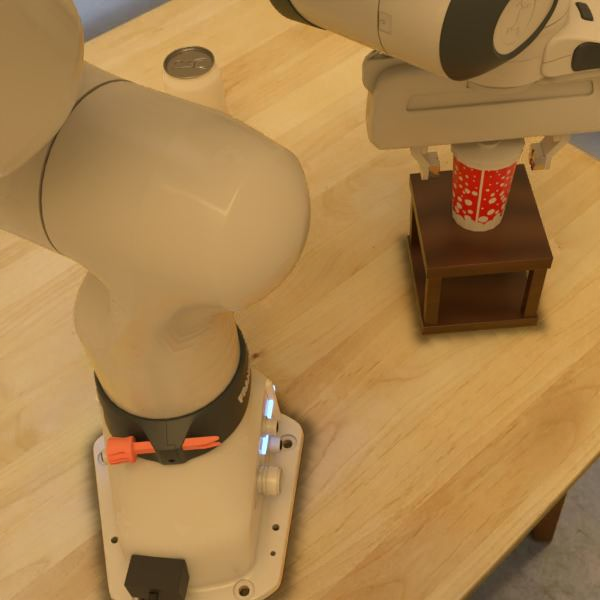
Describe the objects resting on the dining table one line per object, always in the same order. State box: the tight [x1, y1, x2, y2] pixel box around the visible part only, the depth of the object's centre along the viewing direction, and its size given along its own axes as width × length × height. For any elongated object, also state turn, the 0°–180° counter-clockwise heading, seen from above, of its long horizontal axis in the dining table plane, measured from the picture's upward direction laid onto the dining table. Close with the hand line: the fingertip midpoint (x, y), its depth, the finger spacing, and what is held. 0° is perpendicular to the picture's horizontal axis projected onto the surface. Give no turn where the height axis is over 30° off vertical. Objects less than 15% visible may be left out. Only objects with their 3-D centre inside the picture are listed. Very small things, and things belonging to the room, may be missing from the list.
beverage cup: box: [450, 138, 526, 231], centre depth 73 cm, size 6×6×14 cm
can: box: [161, 45, 229, 114], centre depth 97 cm, size 6×6×12 cm
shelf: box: [406, 163, 554, 336], centre depth 82 cm, size 12×11×10 cm
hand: (483, 169), depth 74 cm, fingers open, 8 cm apart
